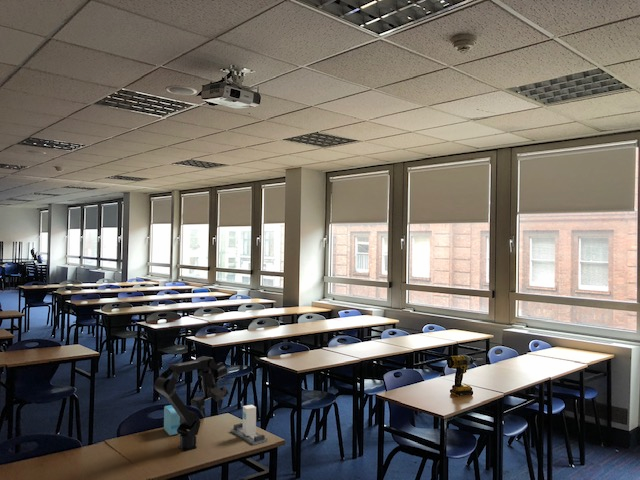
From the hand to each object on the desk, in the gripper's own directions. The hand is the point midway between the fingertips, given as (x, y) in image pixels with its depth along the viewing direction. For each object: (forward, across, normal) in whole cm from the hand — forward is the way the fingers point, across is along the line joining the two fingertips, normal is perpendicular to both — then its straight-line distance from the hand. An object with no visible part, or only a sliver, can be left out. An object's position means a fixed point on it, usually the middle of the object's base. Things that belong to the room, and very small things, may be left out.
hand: (212, 413), depth 240 cm
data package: (+10, -9, +23) cm, 27 cm away
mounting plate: (+14, +12, -11) cm, 21 cm away
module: (+12, +12, -11) cm, 21 cm away
